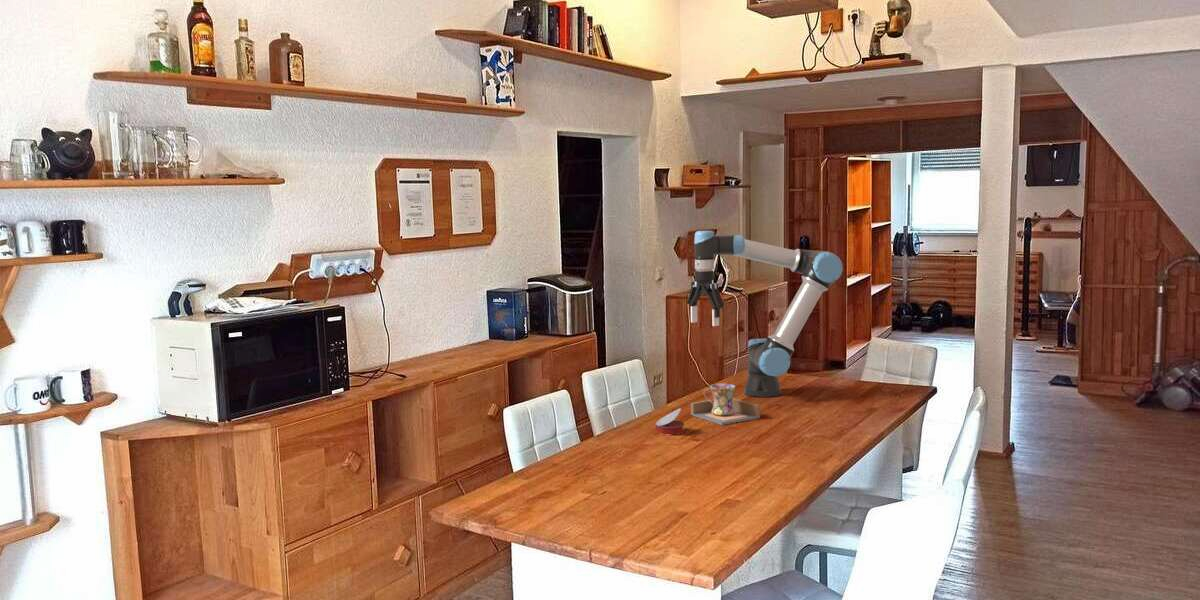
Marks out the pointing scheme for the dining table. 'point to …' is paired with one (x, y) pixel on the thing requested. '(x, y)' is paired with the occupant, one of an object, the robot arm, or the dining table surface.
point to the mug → (722, 399)
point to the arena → (741, 413)
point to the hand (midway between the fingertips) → (704, 324)
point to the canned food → (670, 424)
